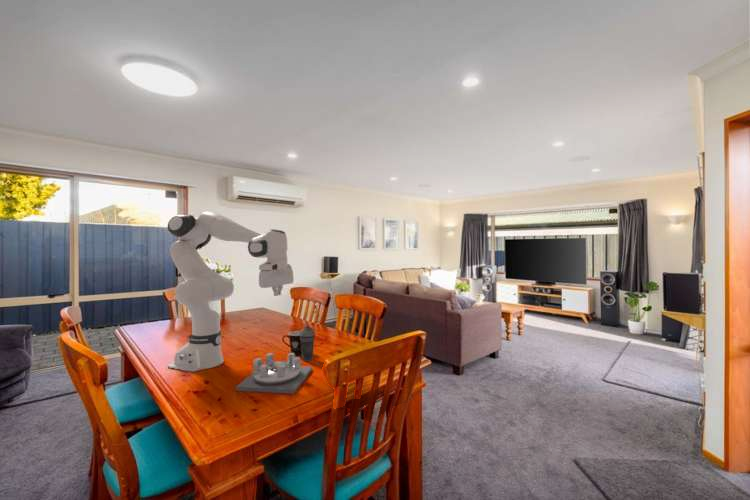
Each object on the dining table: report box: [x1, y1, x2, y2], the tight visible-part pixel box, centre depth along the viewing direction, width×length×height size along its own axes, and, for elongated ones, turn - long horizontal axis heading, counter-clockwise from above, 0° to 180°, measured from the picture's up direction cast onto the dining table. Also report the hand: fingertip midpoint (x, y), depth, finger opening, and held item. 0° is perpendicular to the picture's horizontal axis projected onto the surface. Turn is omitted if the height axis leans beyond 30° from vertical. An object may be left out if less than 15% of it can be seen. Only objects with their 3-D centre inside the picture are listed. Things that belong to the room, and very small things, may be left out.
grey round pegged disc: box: [252, 352, 302, 385], centre depth 127 cm, size 19×18×6 cm
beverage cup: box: [300, 317, 316, 362], centre depth 150 cm, size 7×7×20 cm
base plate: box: [235, 365, 313, 395], centre depth 128 cm, size 22×22×2 cm
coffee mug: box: [281, 330, 302, 356], centre depth 160 cm, size 12×9×10 cm
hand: (277, 295), depth 145 cm, fingers closed
